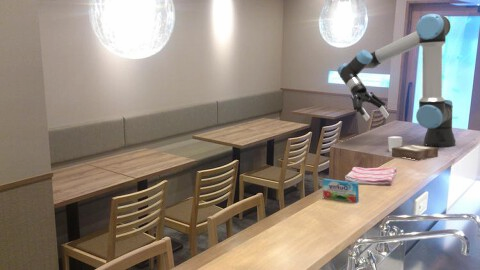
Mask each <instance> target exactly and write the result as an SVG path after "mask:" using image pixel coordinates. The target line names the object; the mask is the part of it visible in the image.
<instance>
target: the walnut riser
mask: <svg viewBox="0 0 480 270" xmlns="http://www.w3.org/2000/svg"><path fill="white" fill-rule="evenodd" d="M391 157H395V158H398V157H406V158H411V159H415V160H418V161H422V160H421V159H423V160H428V159H431V158H438V157H439V147H434V146H427V145H420V144H413V143H412V144H406V145H402V146H400V147H394V148H392V152H391ZM427 158H428V159H427ZM415 160H414V161H415Z"/></svg>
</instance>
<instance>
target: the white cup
mask: <svg viewBox="0 0 480 270" xmlns="http://www.w3.org/2000/svg"><path fill="white" fill-rule="evenodd" d="M387 143H388V151H389V152H390V153H392V148H394V147H400V146H403V136H398V135H395V136H393V135H392V136H391V135H390V136H388V137H387Z"/></svg>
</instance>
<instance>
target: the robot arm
mask: <svg viewBox="0 0 480 270" xmlns="http://www.w3.org/2000/svg"><path fill="white" fill-rule="evenodd" d="M415 28H416V30H415V31H414V32H412V33H408V35H405V36H403V37H401V38H399V39H397V40H395V41H393V42H391V43H389V44H387V45H385V46H381V48H379V49H377V50H375V51H372V52H369V51H368V50H366V49H361V51H359V52H358V53H357V54H356V56H355V57H353V58H352V60H351V61H350V62H349V63H348V62H344V63H342V64H340V65H339V66H338V68H337V73H338V76H339V78H341V80H342V82H343V83H344V84H345V85H346V87H347V88H348V90H349V91H350V93H351V94H352V95H351V96H350V99H351V100H352V105H353V110H354V111H356V112H357V113H360V115H361V116H362V117H363V119H364V120H365V121H366V122H369V120H370V118H371V117H370V115H369V114H368V112H367V111H366V110H365V108H364V107H363V103H364V102H365V103H370V104H372V105H373V106H375V107H376V108H379V109H378V111H380V113H381V115H382V116H383V117H384V118H385V119H388V117H389V116H390V114H389V113H388V111H387V109H386V108H385V105H386V103H385V102H384V101H383V100H382V99H380V97H378V96H376V95H375V94H374V92H372V91H371V92H369V93H368V91H367V87H366V86H365V85H364V83H363V82H362V80H361V79H360V77H359V76H358V75H359V74H360V73H361V71H363V70H364V69H374V68H377V67H378V66H379V65H381V64H383V63H385V62H388V61H389V60H391V59H394V58H396V57H399V56H400V55H403V54H405V53H407V52H409V51H411V50H413V49H416V48H417V47H419V46H421V48H422V82H421V83H422V84H421V85H422V91H421V92H422V93H421V94H422V97H421V98H420V99H419V101H418V109H417V111H416V116H415V117H416V121H417V123H418V124H419V125H420V127H422V128H424V129H426V133H425V134H424V135H425V136H424V139H423V145H424V144H427V145H432V146H431V147H434V146H438V147H437V148H443V147H444V148H445V147H447V148H448V147H453V146H454V147H455V146H456V145H457V141H456V138H455V136H454V135H455V134H454V132H453V107H454V106H453V101H452V100H450V99H445V98H443V96H442V95H443V94H442V92H443V91H442V87H443V86H442V83H443V82H442V80H443V78H442V74H443V71H442V70H443V69H442V68H443V66H442V65H443V46H444V45H445V44H446V40H447V39H446V37H447V36H448V35H449V33H450V30H451V21H450V20H449V19H448V17H446V16H444V15H441V14H436V13H429V14H425V15H423V16H421V17H420V18H419V19H418V21H417V23H416V26H415ZM427 145H426V146H427Z"/></svg>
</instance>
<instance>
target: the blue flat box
mask: <svg viewBox="0 0 480 270" xmlns="http://www.w3.org/2000/svg"><path fill="white" fill-rule="evenodd" d="M359 192H360V191H359V184H358V183H355V182H347V181H345V180H338V179H330V178H324V179H323V180H322V196H323V197H322V198H325V199H330V200H335V201H336V200H337V201H341V202H342V201H343V202H349V203H355V204H356V203H358V202H359V198H360V197H359Z"/></svg>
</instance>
